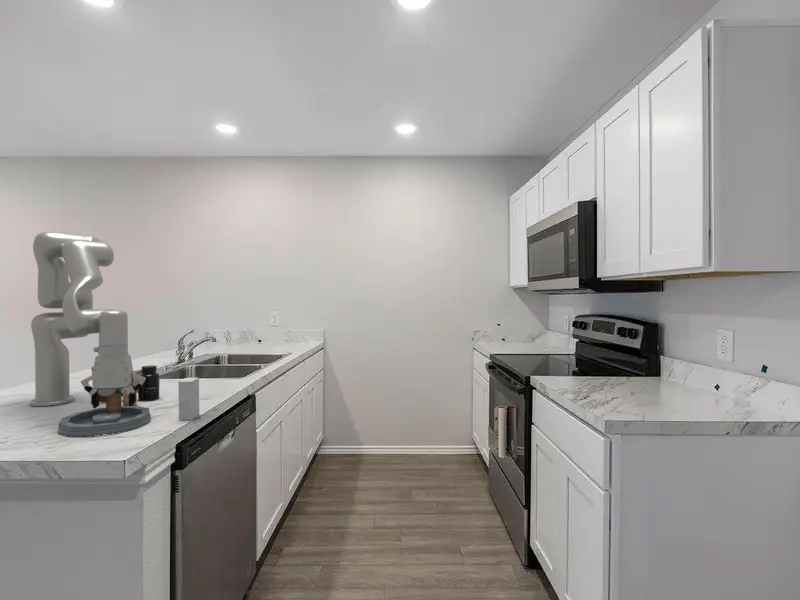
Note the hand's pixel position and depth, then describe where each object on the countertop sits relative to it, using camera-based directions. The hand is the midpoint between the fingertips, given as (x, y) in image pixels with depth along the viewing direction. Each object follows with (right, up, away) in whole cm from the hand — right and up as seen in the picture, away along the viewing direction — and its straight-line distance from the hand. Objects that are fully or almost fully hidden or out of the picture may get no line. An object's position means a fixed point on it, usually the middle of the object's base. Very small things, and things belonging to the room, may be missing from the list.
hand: (113, 406), depth 139 cm
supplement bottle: (-3, -4, +26) cm, 26 cm away
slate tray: (+2, -4, -6) cm, 7 cm away
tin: (-15, -3, +36) cm, 39 cm away
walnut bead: (0, -3, 0) cm, 3 cm away
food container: (-15, -4, +23) cm, 28 cm away
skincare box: (+22, -4, +2) cm, 23 cm away
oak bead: (-4, -4, +15) cm, 16 cm away
